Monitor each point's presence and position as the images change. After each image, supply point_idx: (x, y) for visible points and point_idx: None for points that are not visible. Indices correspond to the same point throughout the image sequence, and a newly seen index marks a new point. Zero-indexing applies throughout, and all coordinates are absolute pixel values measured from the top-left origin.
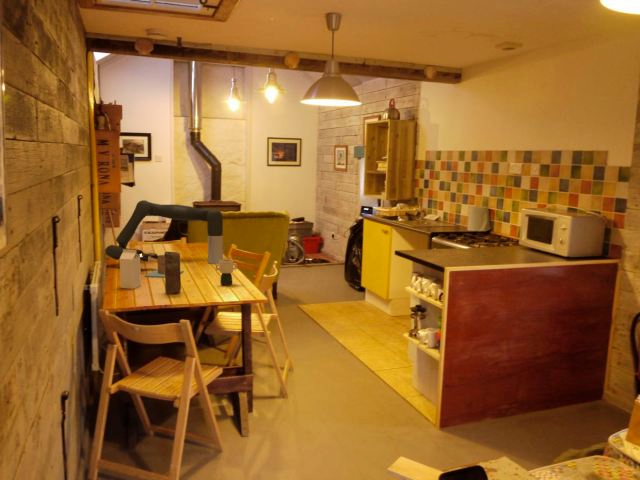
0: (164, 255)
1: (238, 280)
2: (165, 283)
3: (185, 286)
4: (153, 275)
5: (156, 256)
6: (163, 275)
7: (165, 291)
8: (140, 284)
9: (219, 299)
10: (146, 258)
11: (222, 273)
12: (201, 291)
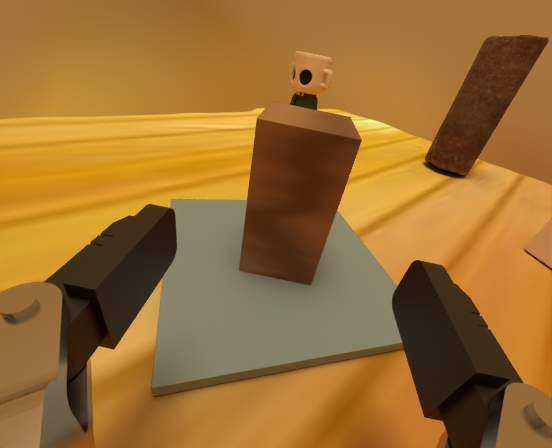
0: (311, 116)
1: (246, 116)
2: (482, 149)
3: (379, 163)
4: (381, 279)
5: (146, 255)
6: (337, 235)
7: (467, 173)
8: (530, 243)
9: (392, 129)
10: (438, 277)
11: (314, 96)
12: (381, 143)
